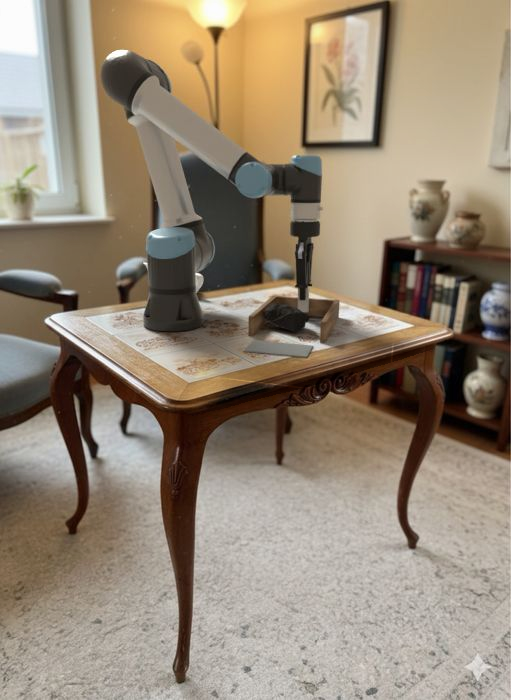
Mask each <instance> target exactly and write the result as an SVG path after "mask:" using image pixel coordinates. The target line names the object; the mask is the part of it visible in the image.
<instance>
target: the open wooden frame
mask: <svg viewBox="0 0 511 700" xmlns="http://www.w3.org/2000/svg"><path fill="white" fill-rule="evenodd" d="M271 304H282V305H284V304H286V305H291V306H292V307H295V308H297V309H298V296H283V295H271V297H269V298H268V299H267V300H266V301H265V302H263V304H261V305H260V306H259V307H258V308H257V309H255V310H254V311H253V312H251V313H250V314H249V315H248V317H247V319H248V326H247V327H248V335H247V336H248V337H254V336H255V335H256V334H257V333H259V331H260V330H262V329H263V327H264V326H265V325H266V324H267V323H268V322H269V321H267V320H266V319H265V318H264V311H265V310H266V309H267V308H268V307H269V306H270V305H271ZM303 313H305V314H307V315H309V316H310V318H309V321H308V322H318V323H320V333H319V334H320V335H319V336H320V337H319V343H320V344H326V342H327V341H328V339H329V337H330V335H331V333H332V331H333V330H334V327H335V325H336V324H337V322H338V320H339V316H340V299H327V298H314V297H312V298H311V297H309V311H308V312H303Z"/></svg>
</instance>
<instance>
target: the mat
mask: <svg viewBox="0 0 511 700" xmlns="http://www.w3.org/2000/svg"><path fill="white" fill-rule="evenodd" d="M313 348H314V345H311V344H298V343H297V344H296V343H290V342H289V343H288V342H276V341H268V340H267V341H265V340H257V339H256V340H255V339H252V341H251V342H250V343H249V344H248V345H247V346H246V347H244V349H243V350H242V352H244V353H251V354H252V353H253V354H263V355H273V356H274V355H275V356H283V357H293V358H304V359H305V358H306V359H307V358H308V356H309V354H311V353H310V352H311V351H312V349H313Z"/></svg>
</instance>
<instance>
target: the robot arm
mask: <svg viewBox="0 0 511 700" xmlns="http://www.w3.org/2000/svg"><path fill="white" fill-rule="evenodd" d="M100 82H101V86H102V88H103V91H104V92H105V93H106V96H107V97H109V98H110V100H112V101H114V102H115V103H116V104H119V105H120V106H121V107H123V111H124V113H125V116H126V120H127V123H129V124H130V125H132V126H133V127H134V128H135V129H136V132H137V133H136V134H137V135H138V139H139V143H140V146H141V149H142V153H143V157H144V159H145V163H146V167H147V170H148V172H149V177H150V180H151V183H152V187H153V189H154V194H155V196H156V199H157V200H156V201H157V203H158V204H157V205H158V207H159V211H160V213H161V214H160V215H161V217H162V221H163V222H162V224H161V226H160V228H157V229H154V230H152V231H150V232H149V233H148V234H147V236H146V238H145V239H146V244H145V251H146V263H147V267H146V269H147V268H148V270H147V281H148V283H147V284H148V296H147V301H146V303H145V304H146V305H145V308H144V311H143V317H142V319H143V321H142V322H143V326H144V327H145V328H146V329H149V330H153V331H158V332H182V331H190V330H194V329H197V328H199V327H202V326H203V325H204V323H205V322H204V321H205V320H204V313H203V309H202V307H201V304H200V301H199V298H198V295H197V293H196V273H201V272H202V271H203V270H205V269H206V268H208V266H209V265H210V264H211V262H212V261H213V259H214V256H215V252H216V246H215V242H214V239H213V237H212V236H211V234H210V233H209V232H208V231H207V230H206V227H205V222H204V221H203V218H202V217H201V216H200V215H198V214H197V213H196V212H195V209H194V205H193V201H192V198H191V194H190V191H189V188H188V184H187V181H186V176H185V173H184V169H183V166H182V163H181V158H180V154H179V150H178V148H177V144H176V142H178V143H179V144H180V145H182V146H183V147H184V148H185V149H187V150H188V151H189V152H191V153H192V154H194V155H195V156H196V157H197V158H199V159H200V160H201V161H202V162H204V163H205V164H207V166H209V167H211V168H212V169H213V170H215V171H216V172H217V173H218V174H220V175H221V176H223V178H225V179H226V180H228V181H229V182H230V183H232V184H233V186H235V187H236V188H237V190H238V192H240V194H242V195H243V196H245V197H247V198H250V199H259V198H262V197H267V196H270V197H272V196H290V208H289V209H290V210H289V211H290V213H289V218H290V219H291V221H290V223H289V226H290V229H289V235H290V236H291V237H294V238H297V239H298V240H297V243H296V244H295V251H294V256H295V277H296V280H295V281H296V283H295V285H294V288H297V297H298V309H299V310H300V311H302V312H308V311H309V298H310V287H313V283H311V282H312V268H313V267H312V266H313V254H314V248H315V247H314V243H313V242H312V238H317V237H319V236H320V234H321V222H320V221H319V220H320V219H321V211H323V210H324V207H323V206H321V205H322V204H321V201H322V186H323V185H322V184H323V181H322V179H323V170H322V169H323V166H322V163H323V162H322V161H323V160H322V158H321V157H320V156H319V155H316V154H300V155H299V154H297V155H296V154H295V155H291V158H290V159H291V160H290V163H284V164H283V163H281V164H280V163H274V164H273V163H263V162H262V161H260V160H258V159H257V158H256V157H255V156H253V155H252V154H251V153H249V152H248V151H247V150H245V149H244V148H243V147H241V146H240V145H239V144H238V143H236V142H235V141H233V140H232V139H231V138H229V137H228V136H227V135H225V134H224V133H223V132H222V131H220V130H219V129H218V128H216V127H215V126H213V124H212V123H210V122H209V121H207V120H206V119H205V118H204V117H202V115H200V114H198V113H197V112H196V111H194V110H193V109H191V108H190V107H189V106H188V105H186V103H184V102H183V101H181V100H180V99H179V98H177V97H175V95H173V94H172V86H171V85H172V84H171V81H170V78H169V76H168V74H167V73H166V71H165V70H164V68H162V67H161V66H160V65H159V64H158V63H156V62H155V61H153V60H151V59H148V58H144V57H143V56H142V55H140V54H138V53H136V52H134V51H132V50H127V49H126V50H125V49H119V50H115V51H113V52H112V53H110V54H109V55H108V56H106V58H105V59H104V61H103V62H102V65H101V68H100Z"/></svg>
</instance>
